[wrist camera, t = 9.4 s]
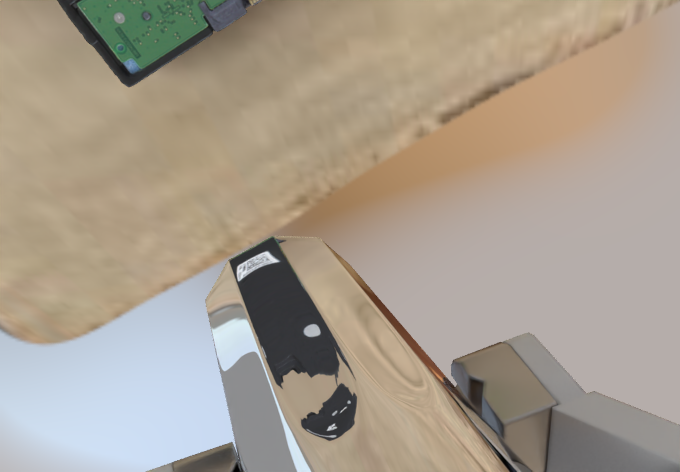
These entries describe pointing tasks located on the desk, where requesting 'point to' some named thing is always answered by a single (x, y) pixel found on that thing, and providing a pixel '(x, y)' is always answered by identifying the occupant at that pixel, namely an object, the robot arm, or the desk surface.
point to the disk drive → (149, 29)
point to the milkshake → (334, 373)
